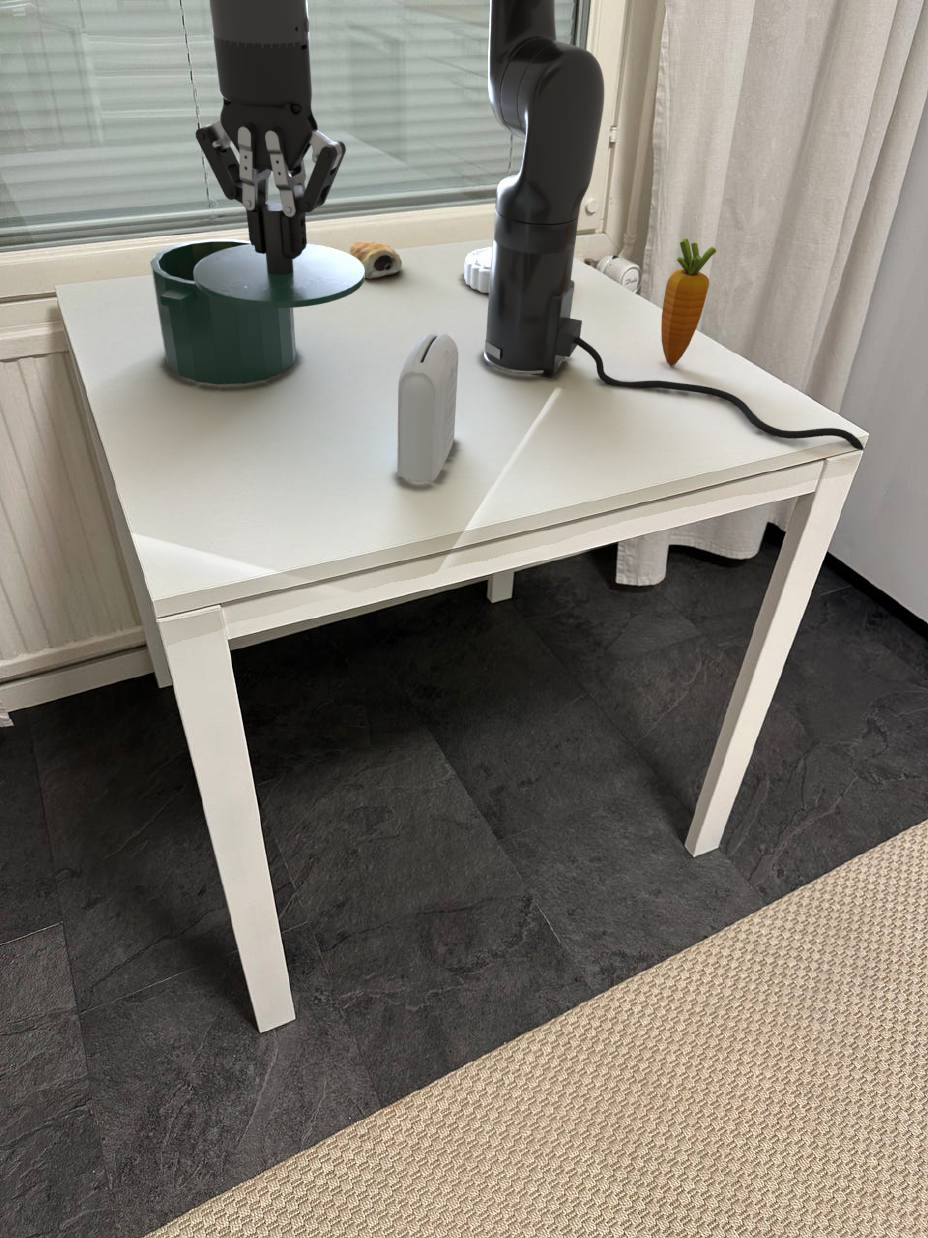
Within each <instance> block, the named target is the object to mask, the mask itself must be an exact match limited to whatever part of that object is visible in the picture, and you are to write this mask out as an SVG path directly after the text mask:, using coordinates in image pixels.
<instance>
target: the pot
mask: <svg viewBox="0 0 928 1238" xmlns="http://www.w3.org/2000/svg"><path fill="white" fill-rule="evenodd" d="M247 244H251V242H250V240H243V239H231V238H230V239H222V238H221V239H203V240H194V241H187V242H183V243H180V244H176V245H172V246H169V247H166V248H164V249H163V250H161V251H159V252H157V253H155V255H154V256H153V258H152V259H151V260H150V262H149V263H150V268H151V269H150V270H151V275H152V276H151V277H152V281H153V288H154V294H155V299H156V306H157V312H158V319H159V325H160V330H161V332H160V333H161V337H162V343H163V350H164V356H165V359H166V363H167V367H168V368H169V369H170V370H171V371H172V372H174V374H176V375H177V376H179V377H182V378H184V379H187V380H191V381H194V382H197V383H204V384H211V385H212V384H213V385H219V386H220V385H244V384H250V383H255V382H261V381H265V380H268V379H270V378H272V377H273V378H274V377H275V376H278V375H280V374H282V373H284V372H286V371H287V370H288V369H289V368H290V367H293V365H294V363H295V360H296V357H297V348H296V333H295V331H296V329H295V315H294V308H260V307H250V306H243V305H237V304H233V303H228V302H225V301H221V300H218V299H216V298H213V297H211V296H209V295H207V294H205V293H204V292H203V291H201V290H200V289H199V288H198V287H197V285H196V283H195V281H194V273H193V272H194V268H195V266H196V265H197V264H198V263H199V262H200V261H201V260H202V259H204V258H205V257H207V256H209V255H211V254H213V253H216V252H218V251H221V250H224V249H228V248H232V247H236V246H241V245H247Z"/></svg>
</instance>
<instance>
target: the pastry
mask: <svg viewBox="0 0 928 1238" xmlns="http://www.w3.org/2000/svg"><path fill="white" fill-rule="evenodd" d="M348 254H350V255H352V256H353V257H355V258H356V259H358V260H359V261H360V262H361V263H362V264H363V266H364V268H365V279H366V278H367V279H371V280H372V279H376V278H377V279H378V278H382V277H384V276H387V275H389V276H390V275H391V276H392V275H394V274H396V273H398V272H399V271H400V270H401V269H402V266H403V261H402V259H401V257H400V254H398V253H397V252H396V251H395V250H394V249H393V248H392V247H391V246H390V245H389V244H387V243H383V242H377V241H357V242H355V243H354V244H353V245H352V246H350V248H349V253H348Z"/></svg>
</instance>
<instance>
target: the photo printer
mask: <svg viewBox="0 0 928 1238" xmlns="http://www.w3.org/2000/svg"><path fill="white" fill-rule="evenodd" d="M404 361H405V362H404V363H403V366H402V368H401V371H400V374H399V378H398V387H397V451H396V452H397V453H396V455H397V457H396V458H397V462H396V463H397V467H396V468H397V469H396V470H397V477H398V478H399V477H400V478H402V479H404V480H405V481H409V482H412V483H427V482H430V483H431V482H434V481H435V480H436V479H437V478H438V476H439V475H440V473H441V471H442V469H443V467H444V465H445V463H446V461H447V459H448V456H449V455H450V452H451V449H452V447H453V445H454V441H455V429H456V408H457V389H458V372H459V371H458V370H459V348H458V345H457V344H456V341H455V340H454V339H453V338H452V336H451V335H449V334H448V333H442V334H441V333H437V332H431V333H428V334H426V335H424V336H423V337H421V339H419V340H418V341H417V342H416V344H415V345H414V346H413V347H412V348H411V350H410V351H409V354H408V355H407V357H406V359H405V360H404Z"/></svg>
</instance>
